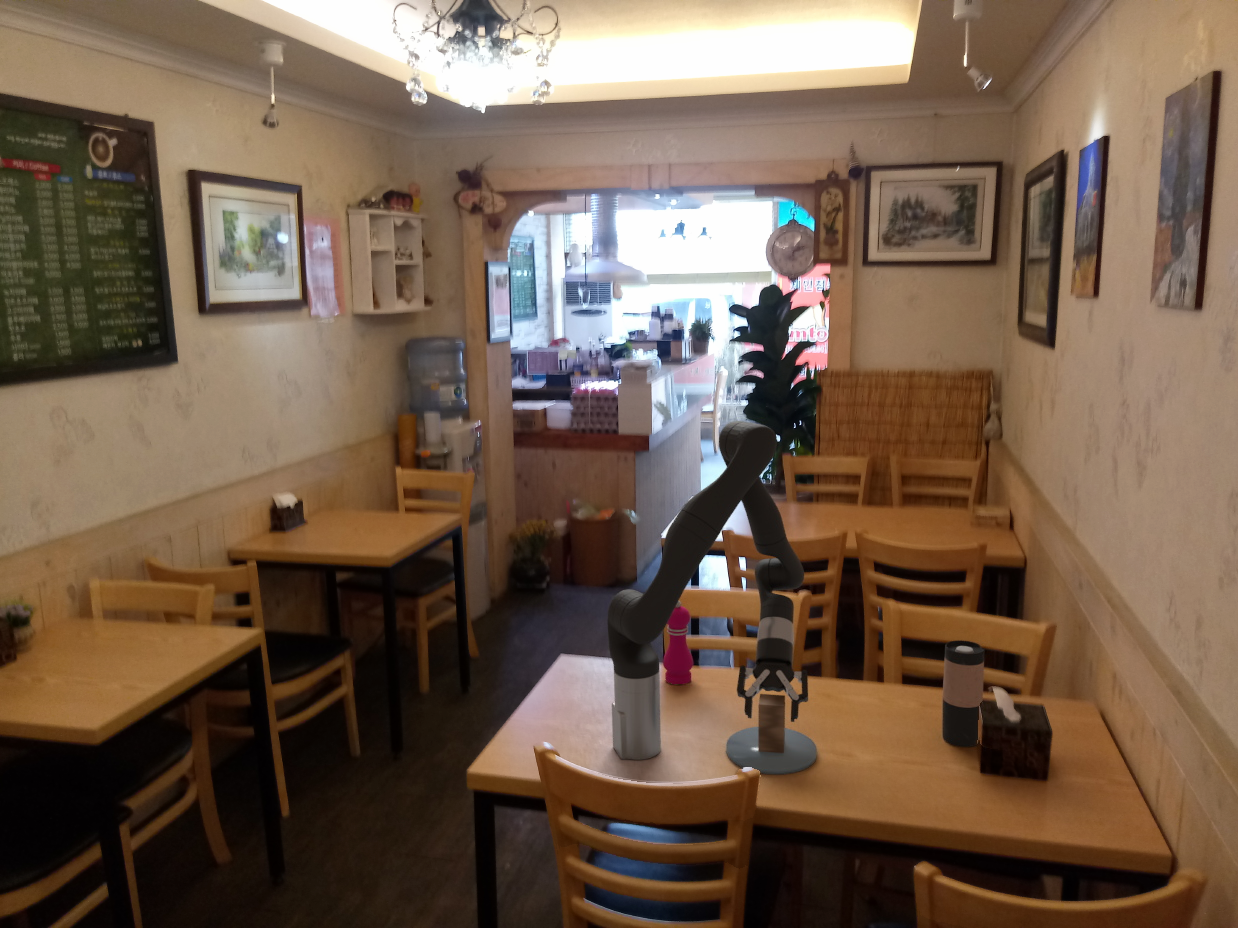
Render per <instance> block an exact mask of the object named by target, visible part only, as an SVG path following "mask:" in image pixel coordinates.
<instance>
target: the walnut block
mask: <svg viewBox="0 0 1238 928" xmlns="http://www.w3.org/2000/svg"><path fill="white" fill-rule="evenodd" d="M757 727H758V751H762V752H775V753H784V744H785V728H786V695H784V694H771V693H770V694H769V693H768V694H767V693H759V699H758V726H757Z"/></svg>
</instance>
